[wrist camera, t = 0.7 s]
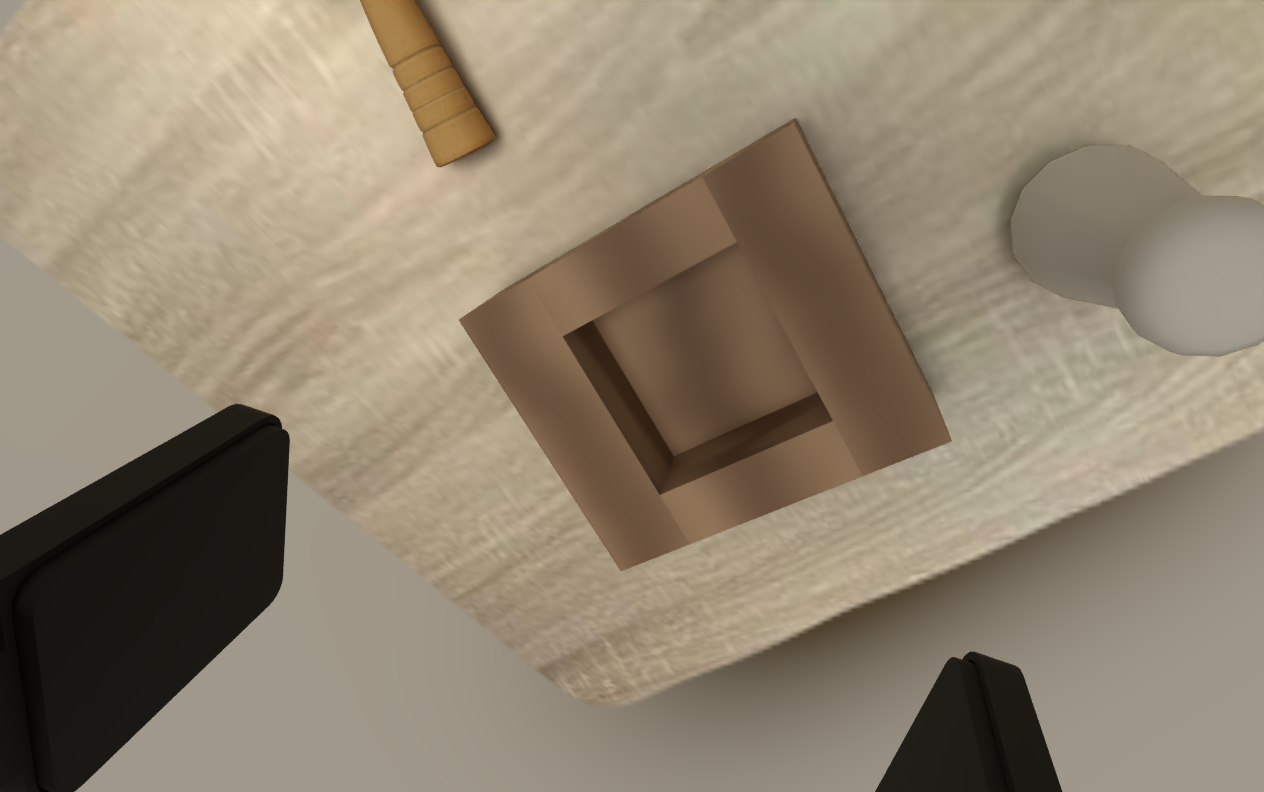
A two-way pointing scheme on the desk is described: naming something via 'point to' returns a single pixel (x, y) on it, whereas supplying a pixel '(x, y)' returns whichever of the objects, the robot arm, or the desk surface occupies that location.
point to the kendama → (428, 81)
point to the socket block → (710, 356)
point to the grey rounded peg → (1146, 248)
